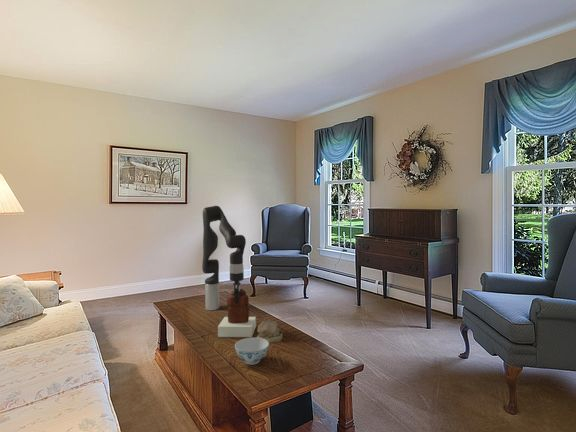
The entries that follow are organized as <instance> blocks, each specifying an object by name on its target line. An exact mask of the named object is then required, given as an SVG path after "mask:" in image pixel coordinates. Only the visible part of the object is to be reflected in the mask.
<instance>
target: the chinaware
mask: <svg viewBox="0 0 576 432" xmlns="http://www.w3.org/2000/svg"><path fill="white" fill-rule="evenodd" d="M269 347H270V342H268V341H267V340H265V339H263V338H257V337H244V338H243V339H239V340H238V341H237V342H235V344H234V348H235V352H236V354H237V356H238V357H239V358H240V359H241V360H242V361H243V362H244V363H245V364H247V365H254V366H255V365H257V364H258V363H260V361H261V360H262V359H264V357H265V356H266V354H267V353H268V349H269Z"/></svg>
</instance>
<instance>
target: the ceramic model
mask: <svg viewBox="0 0 576 432" xmlns="http://www.w3.org/2000/svg"><path fill="white" fill-rule="evenodd" d="M256 332H257V334H256V335H257V336H256V338H263V339H265V340H267V341H268V342H269V343H277V342H278V343H279V342H281V341H282V340H283V333H280V326H279V324H278V322H276V321H274V320H271V319H269V318H267V320H262V321H261V322H260V324H258V326H257V331H256Z"/></svg>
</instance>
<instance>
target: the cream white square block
mask: <svg viewBox="0 0 576 432" xmlns="http://www.w3.org/2000/svg"><path fill="white" fill-rule="evenodd" d="M256 327H257V316H249V320H248V322H242V323H230V322H228V316H224V317H223V319H222V320H221V321H220V323H219V325H217V338H253V335H254V332H255V330H256Z"/></svg>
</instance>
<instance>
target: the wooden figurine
mask: <svg viewBox="0 0 576 432" xmlns="http://www.w3.org/2000/svg"><path fill="white" fill-rule="evenodd" d="M235 294H238V292H236V293H235ZM249 303H250V300H249V296H248V295H247V292H246V291H245V290H244V289H243V288H240V292H239V303H235V296H234V291H233V290H232V291H231V292H230V294H229V293H228V294H227V297H226V306H227V307H226V309H227V317H228V322H230V323H242V322H248V320H249V317H250V313H249V312H250V309H249Z"/></svg>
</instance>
